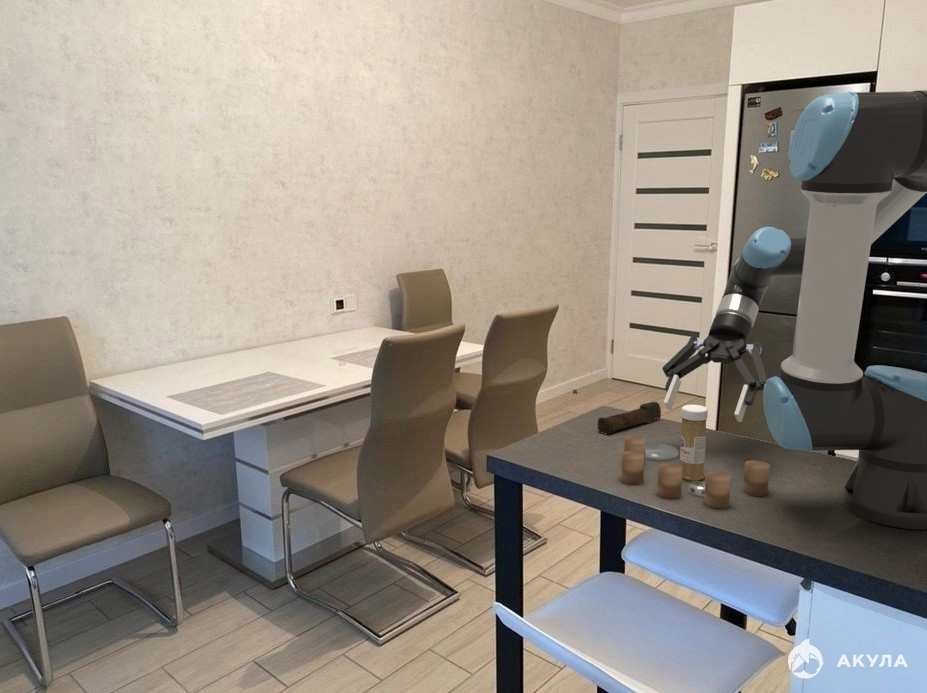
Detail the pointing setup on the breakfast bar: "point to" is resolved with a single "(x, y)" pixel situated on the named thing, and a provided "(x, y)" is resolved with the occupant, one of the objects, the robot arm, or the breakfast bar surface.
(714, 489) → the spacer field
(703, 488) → the silver rounded piece
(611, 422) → the dark brown elongated piece
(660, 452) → the coaster
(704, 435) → the sprinkles bottle
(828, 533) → the breakfast bar surface
